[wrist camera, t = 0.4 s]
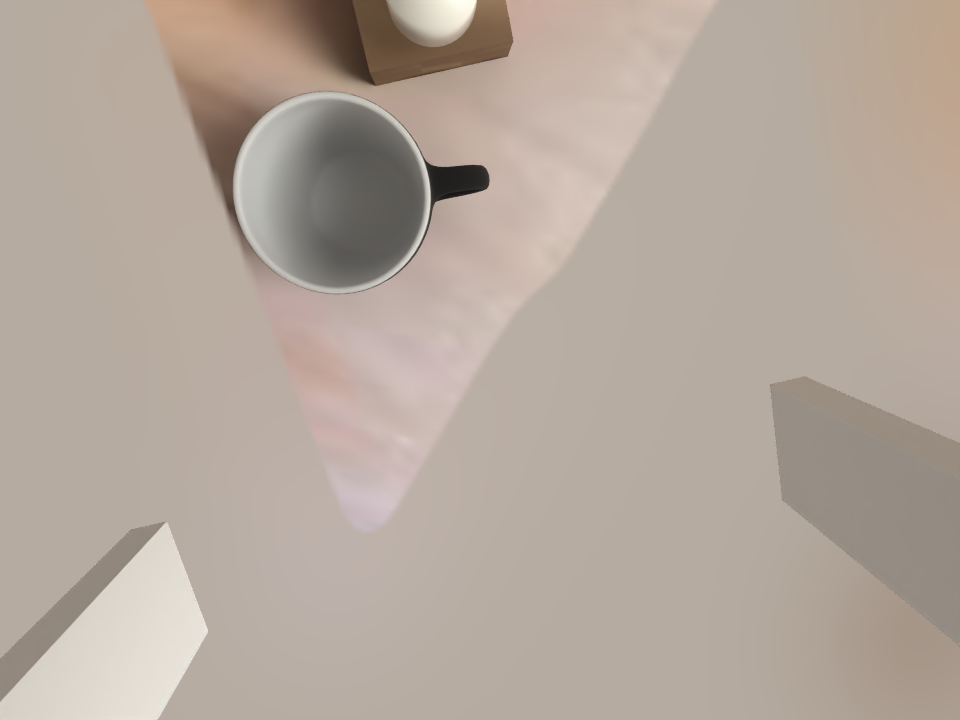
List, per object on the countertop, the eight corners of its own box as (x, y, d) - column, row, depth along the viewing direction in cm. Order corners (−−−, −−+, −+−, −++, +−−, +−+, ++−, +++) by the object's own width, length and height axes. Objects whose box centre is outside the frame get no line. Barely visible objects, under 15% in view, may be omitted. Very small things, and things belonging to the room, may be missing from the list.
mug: (306, 288, 38) (257, 310, 28) (273, 140, 36) (207, 107, 26) (494, 257, 38) (511, 267, 28) (471, 108, 36) (480, 62, 26)
